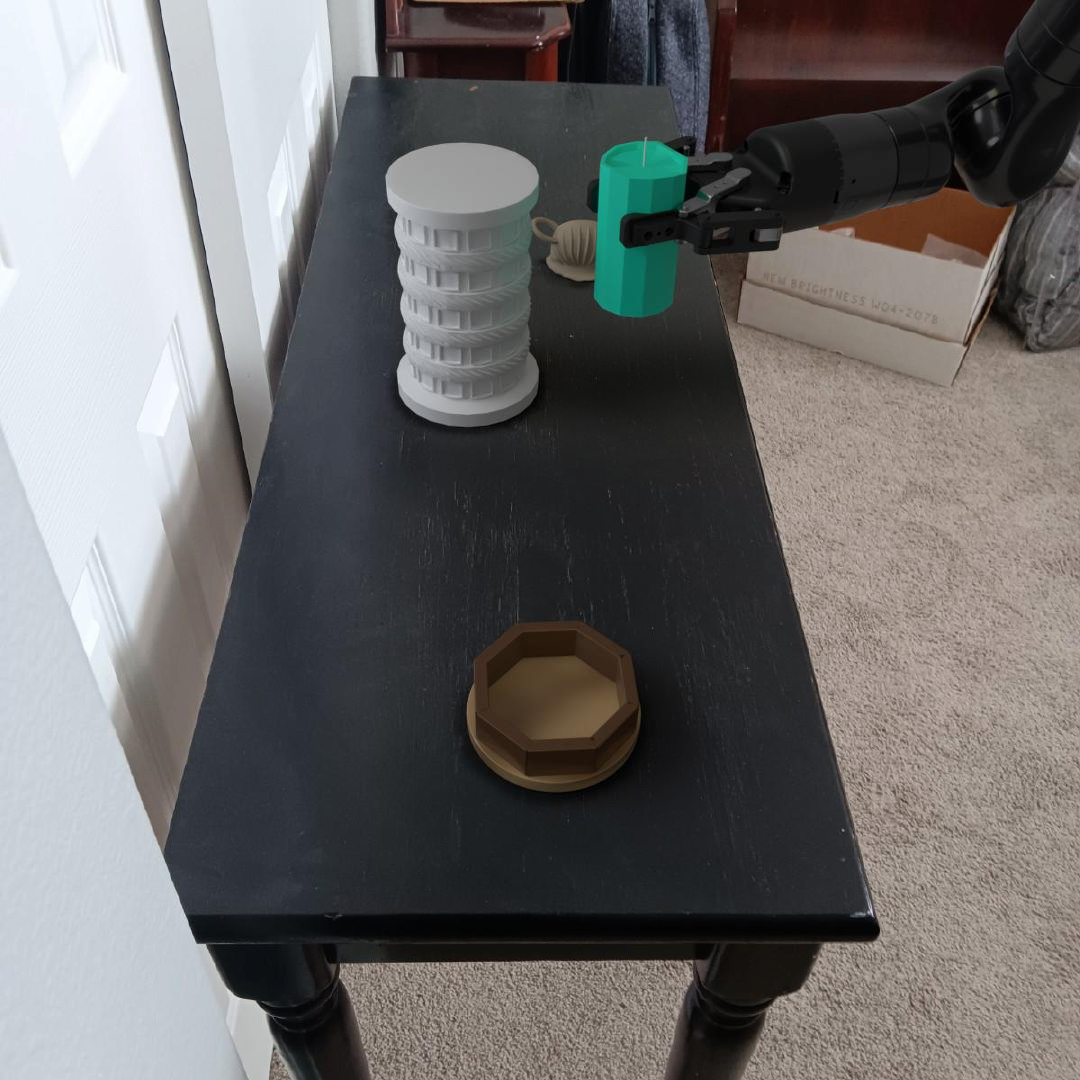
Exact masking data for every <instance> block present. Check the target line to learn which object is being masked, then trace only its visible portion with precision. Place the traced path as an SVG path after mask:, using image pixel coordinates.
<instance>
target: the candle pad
mask: <svg viewBox="0 0 1080 1080" xmlns="http://www.w3.org/2000/svg"><path fill="white" fill-rule="evenodd" d="M472 663H473V664H472V665H473V683H472V686H471V688H470V690H469V691H470V692H469V694H468V698H467V701H466V702H467V703H466V725H467V732H468V736H469V739H470V741H471V744H472V746H473V748H474V750H475V752H476V753H477V755H478V757H479V758H480V759H481V760H482V761H483V763H484V764H485V765H486V766H487V767H488V768H489V769H490V770H491V771H493V772H494V774H496V775H498V776H500V777H501V778H502V779H504V780H506V781H507V782H510V783H511V784H514V785H516V786H519V787H522V788H525V789H528V790H533V791H536V792H545V793H566V792H574V791H578V790H584V789H586V788H588V787H591V786H595V785H597V784H598V783H600V782H602V781H604V780H606V779H608V778H609V777H610V776H612V775H614V774H615V773H616V772H617V771H618V770H619V769H620V768H621V767H622V766H624V764H625V763H626V762H627V761H628V759H629V757H630V756H631V755H632V753H633V751H634V749H635V747H636V745H637V743H638V742H637V741H638V739H639V735H640V734H639V733H640V730H641V729H640V728H641V718H642V710H641V709H642V708H641V704H640V703H641V702H640V698H639V692H638V686H637V681H636V676H635V669H634V664H633V657H632V654H631V653H630V651H628V650H627V649H626V648H624V647H622V646H620V644H617V643H616V642H614V641H613V640H611V639H610V638H608V637H607V636H605V635H604V634H602V633H601V632H599V631H598V630H596V629H595V628H593V627H591V626H590V625H589V624H587V623H585V622H584V621H581V620H559V621H557V620H556V621H532V622H531V621H530V622H528V621H527V622H518V623H515V624H513V626H511V627H510V628H509V629H508V630H506V631H505V632H504V633H503V634H501V636H500V637H498V638H497V639H496V640H495V641H494V642H492V643H491V644H489V646H488V647H486V648H485V649H484V650H483V651H482V652H481V653H479V654H478V655H477V656H476V657H475V658H473V662H472Z"/></svg>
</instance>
